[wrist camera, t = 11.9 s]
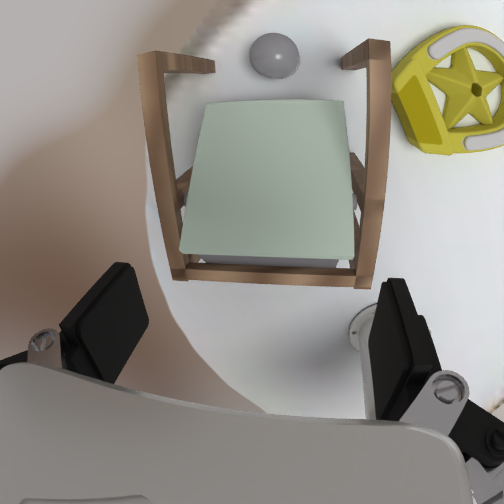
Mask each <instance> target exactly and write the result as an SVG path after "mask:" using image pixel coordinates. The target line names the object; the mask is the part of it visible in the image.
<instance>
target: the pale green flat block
mask: <svg viewBox="0 0 504 504" xmlns="http://www.w3.org/2000/svg"><path fill="white" fill-rule="evenodd" d="M184 205H185V207H186V209H185V215H184V221H183V227H182V233H181V240H180V247H179V251H180V252H182V253H183V254H197V255H198V256H200V257H201V258H202V259H203V260H204V261H205V262H206V263H213V264H236V265H261V266H286V267H314V268H336V265H337V263H338V261H339V259H346V260H353V258H354V219H353V210H356V208H357V195H356V193H352V182H351V169H350V157H349V146H348V136H347V127H346V118H345V110H344V102H343V101H335V100H251V101H233V102H219V103H208V104H206V108H205V112H204V117H203V121H202V126H201V131H200V135H199V140H198V145H197V150H196V155H195V160H194V165H193V170H192V175H191V181H190V186H189V192H185V194H184Z"/></svg>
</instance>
